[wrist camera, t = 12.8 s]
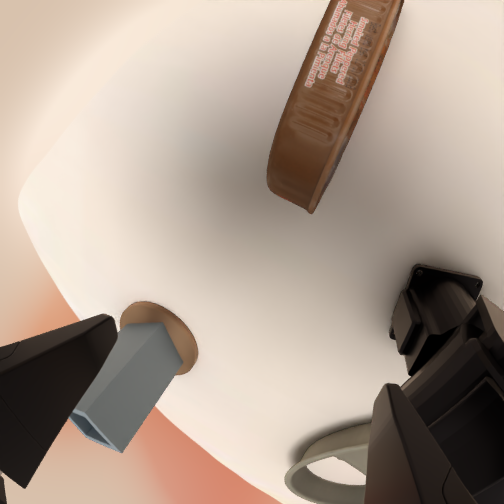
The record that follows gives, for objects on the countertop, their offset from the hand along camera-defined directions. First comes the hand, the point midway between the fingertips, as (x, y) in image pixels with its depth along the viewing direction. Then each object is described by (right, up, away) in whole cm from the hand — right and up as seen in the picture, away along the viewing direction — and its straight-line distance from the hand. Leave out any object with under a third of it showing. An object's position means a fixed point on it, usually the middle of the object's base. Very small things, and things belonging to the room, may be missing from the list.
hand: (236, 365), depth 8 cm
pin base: (-9, -6, +20) cm, 23 cm away
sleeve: (-9, -6, +19) cm, 22 cm away
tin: (+6, +14, +7) cm, 17 cm away
